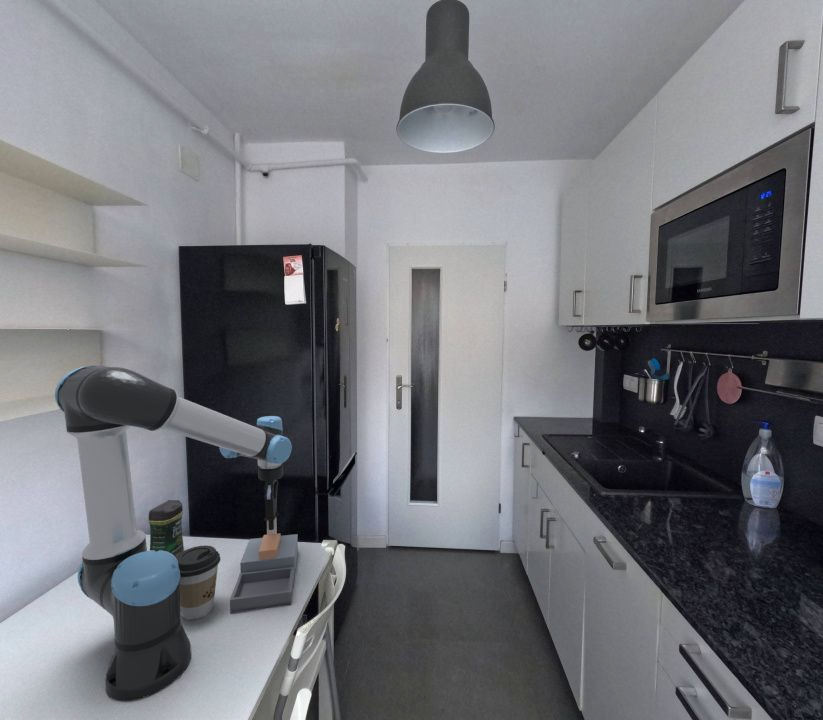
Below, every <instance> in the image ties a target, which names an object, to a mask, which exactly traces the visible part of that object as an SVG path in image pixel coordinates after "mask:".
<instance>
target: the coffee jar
mask: <svg viewBox="0 0 823 720" xmlns="http://www.w3.org/2000/svg"><path fill="white" fill-rule="evenodd" d="M183 513H184V510H183V502H182V501H180V500H179V499H168V500H166V501H164V502H163V503H160V504H158V505H157V506H155V507H154V508H152V509H150V510H149V511H148V517H147V518H148V523H149V533H150V535H149V537H150V539H149V551H151V550H155V552H157V551H159V550H162V551H167V552H169V553H171V554H173V555H174V556H175V557H177V556H178V555H179V554H180V553H181V552H183V551H185V548H184V547H185V546H184V537H183V527H182V519H183Z"/></svg>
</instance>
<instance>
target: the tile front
mask: <svg viewBox="0 0 823 720" xmlns="http://www.w3.org/2000/svg"><path fill="white" fill-rule="evenodd" d="M278 550H279V541H274V542H265V543H261V546H260V549H259V560H262V559H270V558H277V555H278Z"/></svg>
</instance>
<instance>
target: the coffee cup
mask: <svg viewBox="0 0 823 720" xmlns="http://www.w3.org/2000/svg"><path fill="white" fill-rule="evenodd" d="M176 559H177V561H178V566H179V570H180V613H181V615H182V616H181V617H182V618H183V619H184V620H186V621H195V620H198V619H201V618H203V617H205V616H207V615H208V614H210V613H211V612H212V610H213V607H214V604H215V596H216V595H215V594H216V588H217V587H216V586H217V578H218V577H217V576H218V570H219V569H218V567H219V564H220V562H221V554H220V553H219V551H218V550H217V549H216V547H214V546H211V545H197V546H193V547H189V548H187V549H184V551H183V552H181V553H180V554H179V555H178V556H177V557H176Z"/></svg>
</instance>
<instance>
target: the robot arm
mask: <svg viewBox="0 0 823 720" xmlns="http://www.w3.org/2000/svg"><path fill="white" fill-rule="evenodd" d="M54 399H55V402H56V404H57V406H58V408H59V410H60V411H62V412H63V413H64V419H65V420H64V421H65V428H66V433H67V434H69V435H70V436H73V437H75V439H76V440H77V441H76V442H77V448H78V455H79V465H80V466H79V467H80V473H81V481H82V490H83V491H82V492H83V499H84V505H85V514H86V523H87V529H88V530H87V531H88V538H89V539H88V540H89V542H88V543H87V545H86V546H85V547H84V548H83V550H82V551H81V556H82V561H81V563H80V565H79V567H78V570H77V582H78V585H79V587H80V590H81V591H82V594H84V595H85V596H86V597H87V598H89V599H90V600H92V601H93V602H95V603H96V604H97V605H99V606H100V607H101V608H102V609H104V610H105V611H106V612H107V613H109V614H110V615H111V616H112V618H113V630H114V648H113V652H112V655H111V658H110V660H109V662H108V663H109V664H108V666H107V669H106V672H105V678H104V679H105V680H104V681H105V693H106V695H107V696H108V697H109V698H111V699H112V700H114V701H119V702H131V701H137V700H141V699H144V698H147V697H149V696H152V695H154V694H156V693H158V692H160V691H161V690H163V689H166V688H167V687H168V686H169V685H171V684H172V683H173V682H175V681H176V680H177V679H178V678H179V677H180V676H181V675H182V674H183V673H184V672H185V670H186V669H187V667H188V666H189V664H190V661H191V659H192V658H191V657H192V646H191V641H190V639H189V637H188V634H187V633H186V631H185V628H184V626H183V625H182V622H181V621H182V619H181V618H182V616H181V615H182V614H181V611H180V570H179V566H178V561H177V559H176V557H175V556H174V555H173V554H171V553H169V552H167V551H162V550H159V551H157V552H155V550H151V551H150V550H148V548H147V536H146V533H145V531H143V530H140V529H138V527H137V521H136V511H135V501H134V493H133V483H132V474H131V465H130V464H131V463H130V455H129V447H128V436H127V430H128V429H129V428H130V427H136V428H140V429H144V430H147V431H150V432H156V431H158V430H160V429H161V430H164V431H167V432H171V433H173V434H177V435H180V436H183V437H187V438H190V439H193V440H196V441H200V442H202V443H206V444H209V445H213V446H215V447H219V448H218V449H219V453H220V454H221V455H222V456H223V457H224V458H226V459H232V458H238V457H241V456H242V457H245V458H250V459H255V460H257V474H258V475H257V477H258V480H260V481H262V482H263V481H264V484H263V492H264V495H263V498H264V505H265V507H264V509H265V517H264V519H263V520H264V521H266V535H269V534H278V533H277V531H278V529H277V528H278V527H277V516H279V512H278V507H277V505H278V497H277V496H278V486H279V481H278V480H279V479H281V478H283V476H284V465H283V463H284V462H286V461H287V460H289V457H290V456H291V453H292V449H293V446H292V442H291V440H290V439H289V438H288V437H286V436H283V434H284V433H283V431H284V429H283V421H282V418H281V417H280V416H277V415H269V416H268V415H267V416H261V417H259V418H258V419H257V420H256V425H254V426H253V425H251V424H249V423H246V422H244V421H241V420H238V419H237V418H234V417H231V416H229V415H225V414H223V413H221V412H218V411H216V410H213V409H211V408H209V407H205V406H203V405H200V404H198V403H196V402H192V401H191V400H188V399H186V398H183V397H180V396H179V395H178V391H177V390H175V389H173V388H170V387H168V386H167V385H163V384H161V383H159V382H157V381H155V380H153V379H151V378H149V377H147V376H145V375H143V374H140V373H139V372H136V371H134V370H131V369H128V368H126V367H125V368H124V367H121V366H120V367H118V366H107V365H106V366H105V365H94V364H93V365H87V366H81V367H77V368H75V369H72V370H70V371H69V372H67V373H66V374H65V375H64V376H63V377H62V378H61V379H60V380H59V381H58V383H57V384H56V387H55V389H54Z"/></svg>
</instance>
